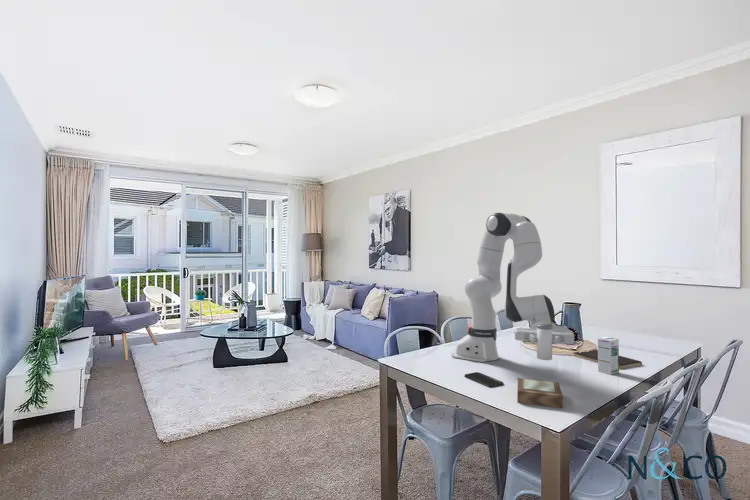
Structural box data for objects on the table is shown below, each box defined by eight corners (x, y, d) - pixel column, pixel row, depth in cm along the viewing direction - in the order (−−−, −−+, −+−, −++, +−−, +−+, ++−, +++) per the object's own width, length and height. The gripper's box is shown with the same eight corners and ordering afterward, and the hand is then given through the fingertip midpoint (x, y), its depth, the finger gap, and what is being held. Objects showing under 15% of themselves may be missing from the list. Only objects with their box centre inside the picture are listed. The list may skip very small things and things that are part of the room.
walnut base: (517, 402, 135) (517, 389, 135) (517, 388, 148) (517, 377, 148) (562, 408, 130) (562, 394, 130) (558, 393, 143) (558, 381, 143)
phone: (477, 371, 165) (504, 382, 152) (477, 374, 165) (504, 385, 152) (463, 374, 162) (489, 386, 148) (463, 377, 162) (489, 388, 148)
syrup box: (611, 375, 164) (611, 340, 164) (597, 371, 169) (597, 337, 169) (619, 373, 167) (619, 338, 167) (605, 369, 172) (605, 336, 172)
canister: (537, 359, 139) (537, 325, 139) (536, 355, 144) (536, 322, 144) (553, 360, 137) (553, 326, 137) (551, 357, 142) (551, 323, 142)
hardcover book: (618, 370, 172) (618, 365, 172) (573, 357, 193) (573, 352, 193) (642, 366, 178) (642, 361, 178) (595, 353, 199) (595, 349, 199)
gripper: (513, 322, 156) (513, 329, 143) (571, 326, 149) (576, 333, 136) (513, 338, 156) (513, 346, 143) (571, 342, 149) (576, 351, 136)
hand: (544, 340), depth 139 cm, fingers closed on canister, 5 cm apart
